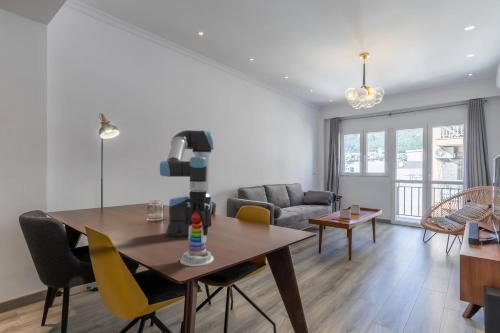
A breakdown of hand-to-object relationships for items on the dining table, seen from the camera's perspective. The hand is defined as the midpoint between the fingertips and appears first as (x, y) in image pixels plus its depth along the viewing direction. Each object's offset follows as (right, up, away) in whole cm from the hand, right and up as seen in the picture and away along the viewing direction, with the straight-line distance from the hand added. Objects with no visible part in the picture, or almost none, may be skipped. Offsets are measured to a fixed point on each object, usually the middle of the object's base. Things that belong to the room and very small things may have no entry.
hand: (197, 240), depth 121 cm
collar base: (0, -9, 0) cm, 9 cm away
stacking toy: (0, -6, 0) cm, 6 cm away
